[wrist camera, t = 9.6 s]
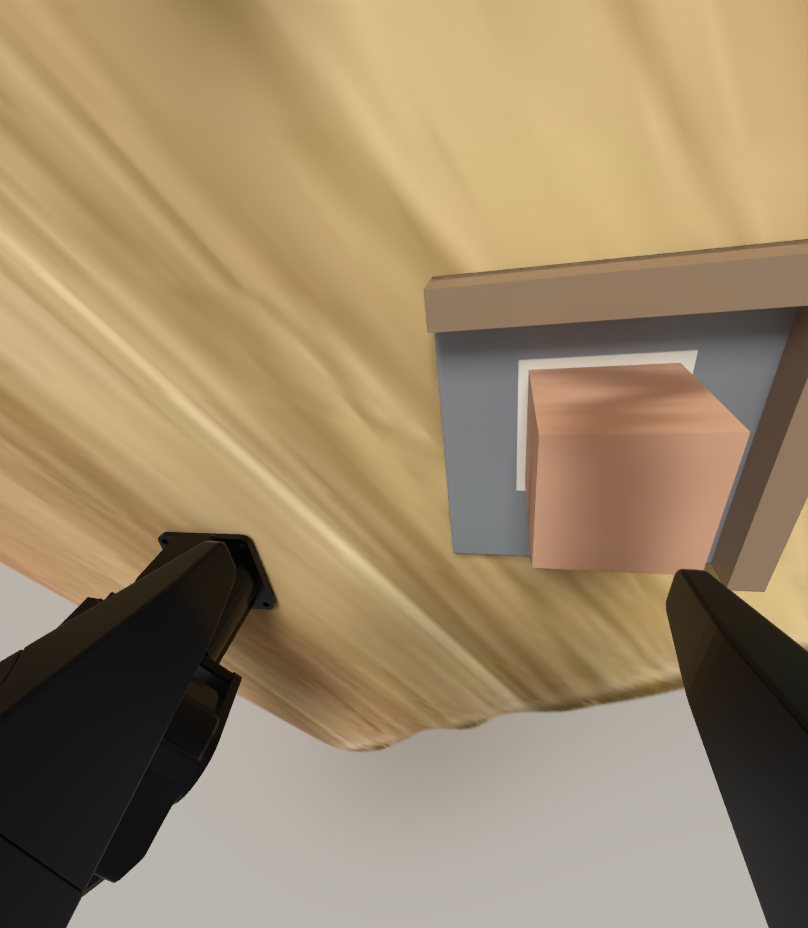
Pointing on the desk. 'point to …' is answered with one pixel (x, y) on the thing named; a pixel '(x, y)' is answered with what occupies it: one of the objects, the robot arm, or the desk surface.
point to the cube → (626, 468)
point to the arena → (629, 343)
